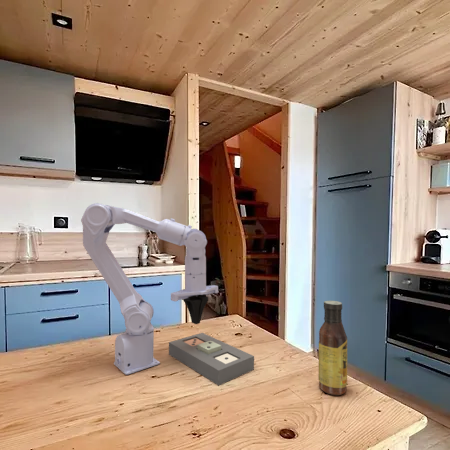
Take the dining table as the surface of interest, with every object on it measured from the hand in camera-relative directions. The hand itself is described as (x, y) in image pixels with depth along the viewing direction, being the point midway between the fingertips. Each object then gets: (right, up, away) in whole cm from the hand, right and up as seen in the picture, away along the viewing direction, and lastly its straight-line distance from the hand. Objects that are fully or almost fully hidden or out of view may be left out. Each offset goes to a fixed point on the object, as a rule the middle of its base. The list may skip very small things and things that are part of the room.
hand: (195, 322), depth 84 cm
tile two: (+4, -8, 0) cm, 9 cm away
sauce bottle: (+33, -11, -13) cm, 37 cm away
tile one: (+8, -9, -6) cm, 14 cm away
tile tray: (+4, -10, 0) cm, 11 cm away
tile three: (-1, -9, +5) cm, 10 cm away
